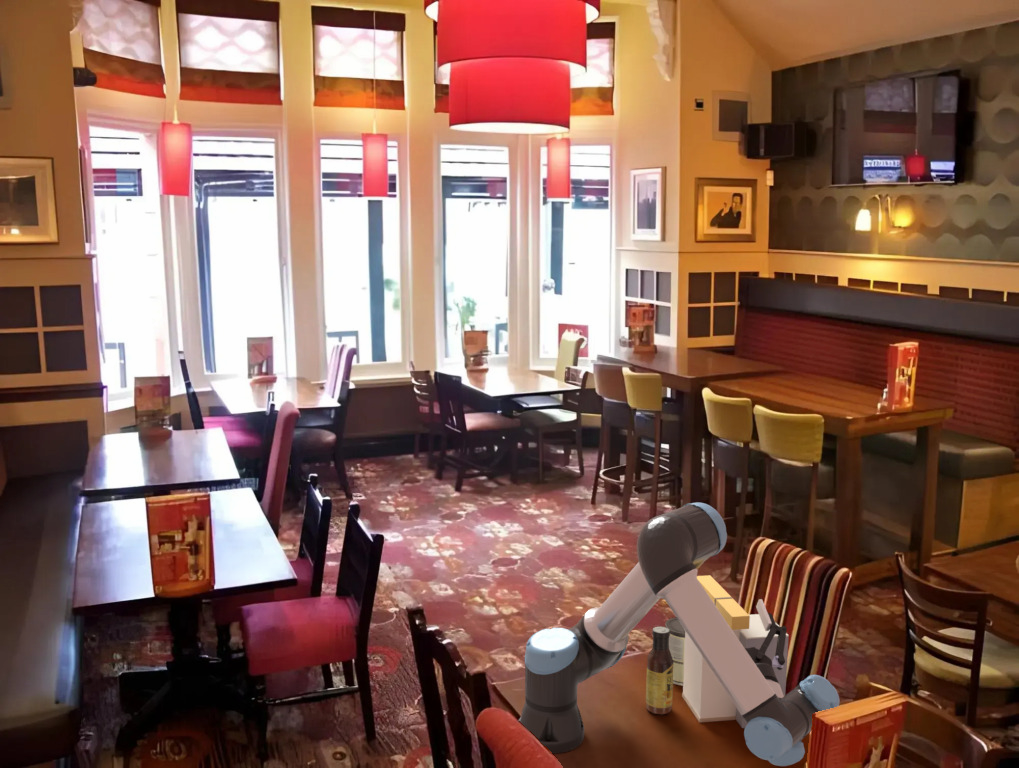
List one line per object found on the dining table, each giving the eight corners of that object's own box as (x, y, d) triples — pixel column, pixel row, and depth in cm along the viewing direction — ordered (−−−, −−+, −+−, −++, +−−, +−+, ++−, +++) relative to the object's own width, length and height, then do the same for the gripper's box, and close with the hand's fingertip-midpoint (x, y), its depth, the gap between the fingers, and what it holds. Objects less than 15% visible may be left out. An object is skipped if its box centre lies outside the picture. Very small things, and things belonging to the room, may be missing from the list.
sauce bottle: (671, 717, 216) (674, 637, 213) (644, 714, 217) (647, 635, 214) (672, 703, 222) (675, 625, 219) (646, 700, 224) (648, 623, 220)
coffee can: (675, 663, 243) (677, 613, 240) (711, 675, 236) (713, 623, 234) (656, 678, 235) (657, 626, 232) (692, 690, 228) (695, 637, 226)
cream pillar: (738, 719, 215) (743, 610, 211) (699, 722, 214) (703, 612, 209) (718, 693, 227) (723, 589, 223) (681, 696, 226) (685, 591, 221)
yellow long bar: (749, 628, 201) (750, 615, 200) (731, 629, 200) (731, 616, 200) (709, 587, 224) (710, 574, 224) (693, 587, 224) (694, 575, 223)
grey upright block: (783, 724, 213) (788, 635, 209) (742, 728, 211) (746, 637, 208) (762, 699, 224) (766, 613, 221) (722, 701, 223) (726, 616, 219)
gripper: (699, 703, 191) (673, 617, 207) (813, 694, 194) (778, 611, 210) (707, 682, 186) (679, 596, 202) (823, 674, 189) (787, 591, 206)
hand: (730, 604), depth 206 cm, fingers open, 13 cm apart
